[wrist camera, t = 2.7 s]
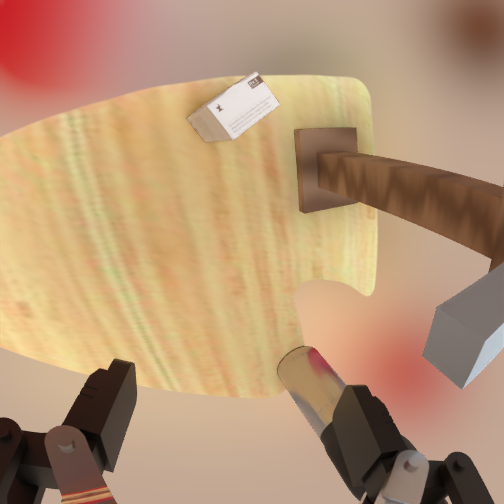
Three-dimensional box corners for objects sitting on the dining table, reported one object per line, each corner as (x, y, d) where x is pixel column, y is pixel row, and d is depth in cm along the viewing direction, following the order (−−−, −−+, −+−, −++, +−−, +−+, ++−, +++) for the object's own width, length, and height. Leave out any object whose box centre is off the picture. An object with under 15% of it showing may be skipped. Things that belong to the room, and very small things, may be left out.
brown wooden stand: (352, 200, 47) (539, 287, 18) (284, 213, 43) (489, 344, 15) (350, 127, 42) (563, 164, 13) (277, 131, 38) (533, 165, 10)
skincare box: (205, 143, 36) (233, 146, 25) (184, 117, 34) (202, 107, 23) (243, 114, 36) (284, 107, 25) (222, 88, 34) (257, 69, 23)
